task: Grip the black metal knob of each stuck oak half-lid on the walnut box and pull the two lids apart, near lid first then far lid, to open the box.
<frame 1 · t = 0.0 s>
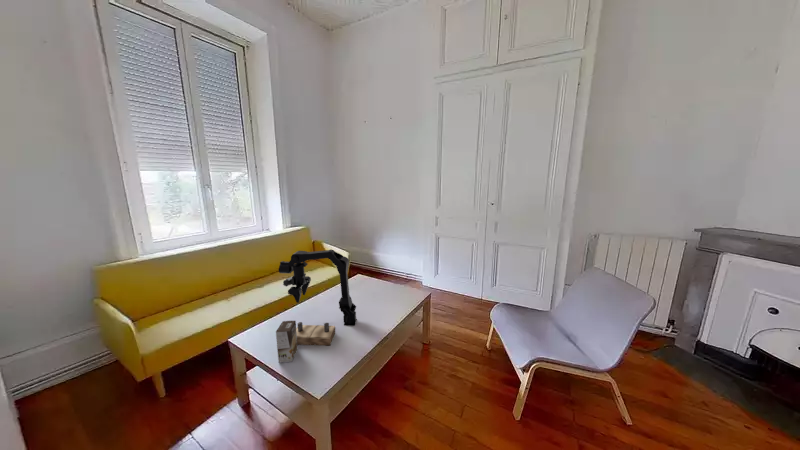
hand: (300, 298, 153), 15 cm above the table, fingers open, 9 cm apart
lid far: (304, 327, 139), point 7 cm above the table, slide at 0.0 cm
lid near: (322, 328, 139), point 7 cm above the table, slide at 0.0 cm
coffee box: (288, 356, 128), on the table
walnut box: (314, 339, 140), on the table
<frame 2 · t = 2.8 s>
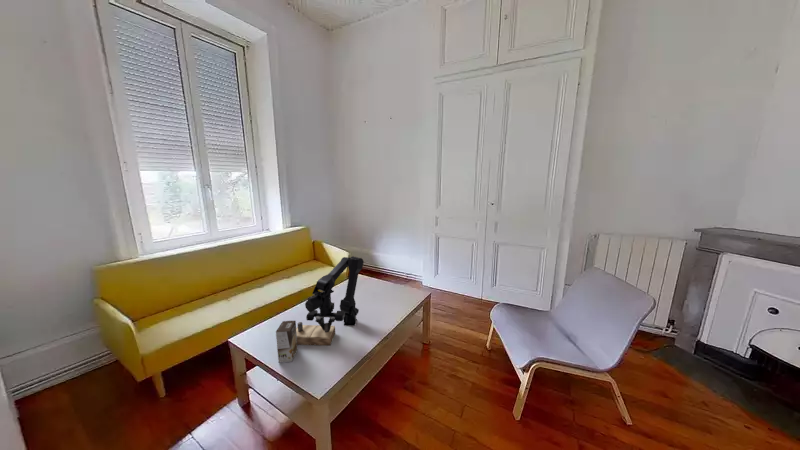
hand: (326, 330, 139), 6 cm above the table, fingers closed on lid near, 2 cm apart
lid near: (322, 328, 139), point 7 cm above the table, slide at 0.0 cm, touching gripper
everything else where it was.
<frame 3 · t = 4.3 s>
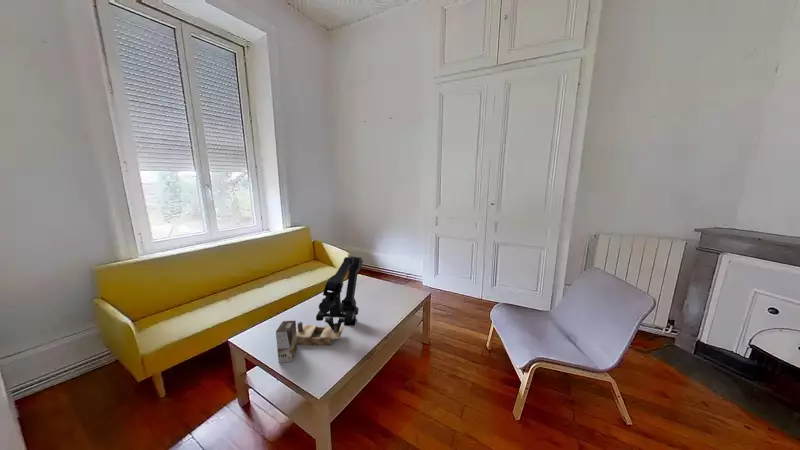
hand: (336, 330, 139), 6 cm above the table, fingers open, 3 cm apart
lid near: (332, 328, 139), point 7 cm above the table, slide at 4.9 cm
everything else where it was.
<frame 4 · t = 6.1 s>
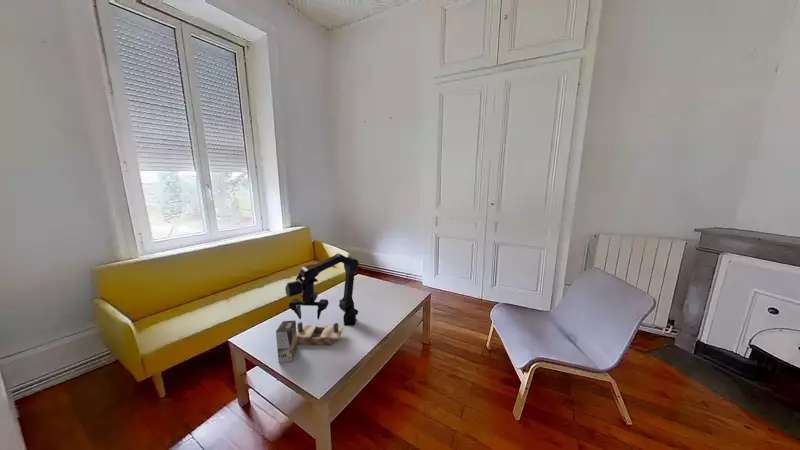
hand: (309, 319, 137), 12 cm above the table, fingers open, 9 cm apart
nothing on the table moved.
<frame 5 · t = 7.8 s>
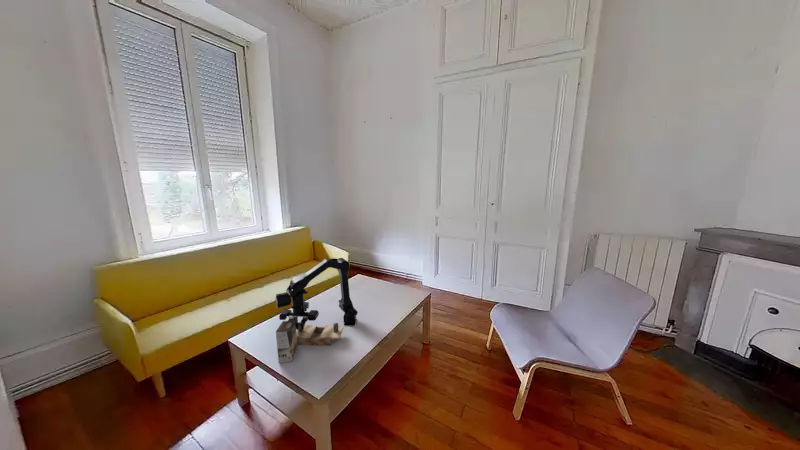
hand: (300, 329, 139), 6 cm above the table, fingers closed on lid far, 2 cm apart
lid far: (304, 327, 139), point 7 cm above the table, slide at 0.0 cm, touching gripper
everything else where it was.
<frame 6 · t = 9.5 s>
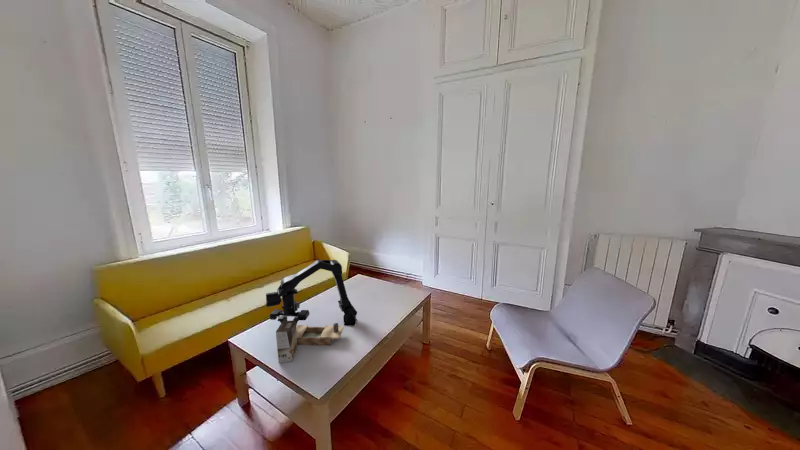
hand: (291, 329, 139), 6 cm above the table, fingers open, 4 cm apart
lid far: (294, 327, 139), point 7 cm above the table, slide at 4.9 cm
everything else where it was.
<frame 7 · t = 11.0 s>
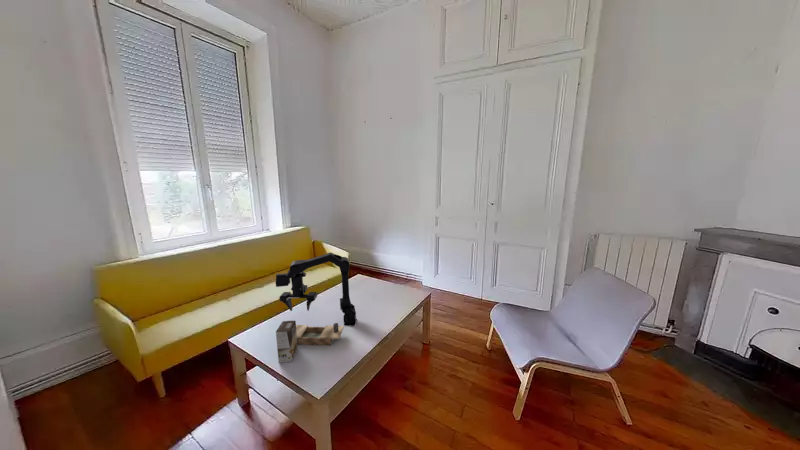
hand: (299, 310, 146), 12 cm above the table, fingers open, 9 cm apart
nothing on the table moved.
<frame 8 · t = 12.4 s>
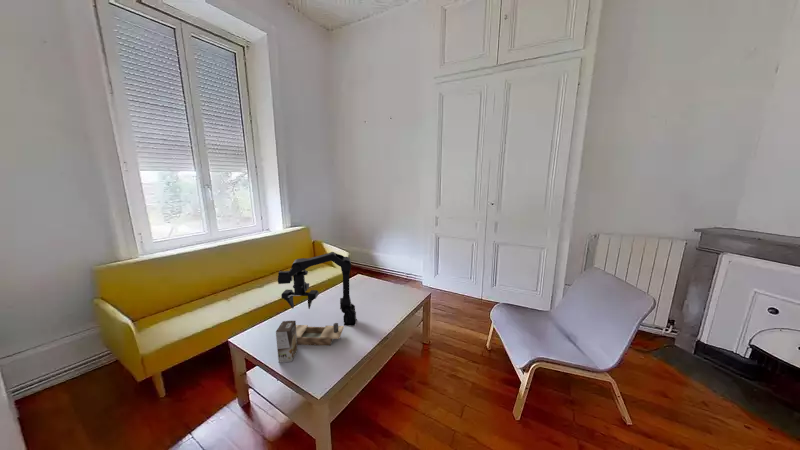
hand: (301, 308, 148), 12 cm above the table, fingers open, 9 cm apart
nothing on the table moved.
at the end: lid near slide at 4.9 cm; lid far slide at 4.9 cm; the gripper is holding nothing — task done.
